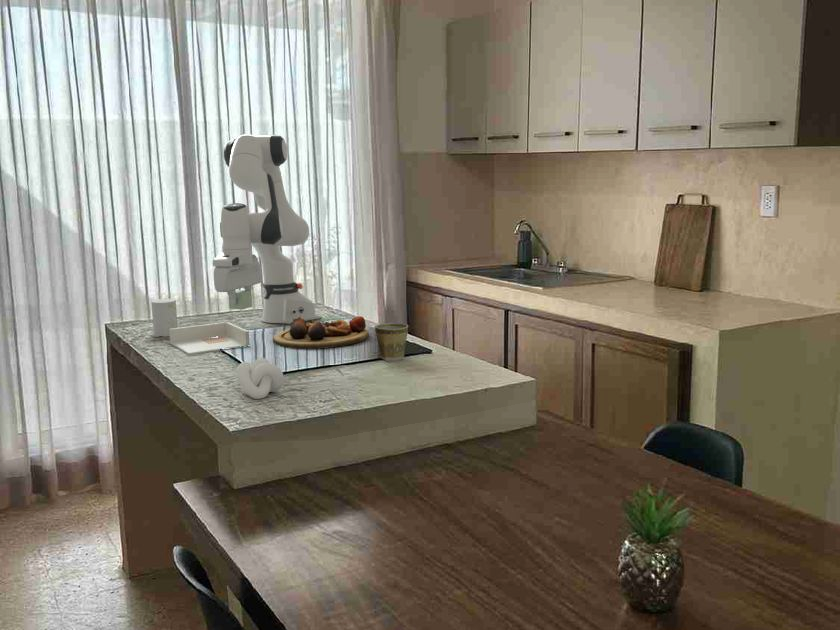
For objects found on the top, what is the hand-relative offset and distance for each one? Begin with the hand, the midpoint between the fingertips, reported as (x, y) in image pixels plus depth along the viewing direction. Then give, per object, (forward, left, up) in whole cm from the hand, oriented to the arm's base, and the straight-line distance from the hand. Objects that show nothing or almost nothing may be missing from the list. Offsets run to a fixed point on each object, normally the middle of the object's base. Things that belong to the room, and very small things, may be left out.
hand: (240, 302), depth 253 cm
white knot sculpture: (+12, +46, -17) cm, 50 cm away
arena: (+4, -20, -17) cm, 26 cm away
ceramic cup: (-36, +31, -17) cm, 50 cm away
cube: (0, 0, -2) cm, 2 cm away
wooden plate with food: (-30, -7, -17) cm, 35 cm away
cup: (+11, -46, -17) cm, 50 cm away
